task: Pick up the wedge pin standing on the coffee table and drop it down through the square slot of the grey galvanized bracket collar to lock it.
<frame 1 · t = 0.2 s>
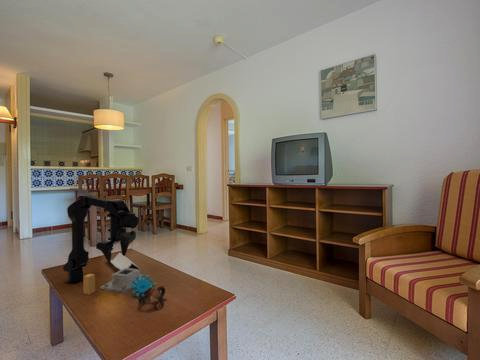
hand: (116, 258, 116), 14 cm above the table, fingers open, 9 cm apart
bracket collar: (126, 282, 122), on the table
z bracket: (121, 266, 145), on the table
gear: (144, 294, 110), on the table
dark brown loop tangle: (153, 305, 101), on the table
wedge pin: (89, 292, 112), on the table
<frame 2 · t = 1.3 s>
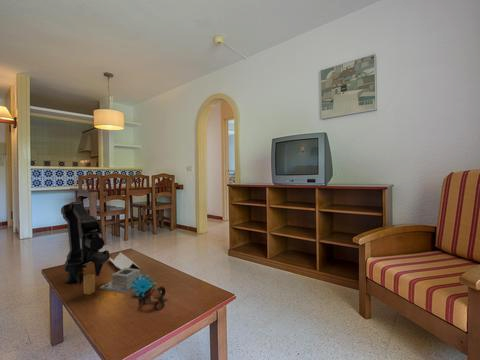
hand: (89, 279, 112), 6 cm above the table, fingers open, 9 cm apart
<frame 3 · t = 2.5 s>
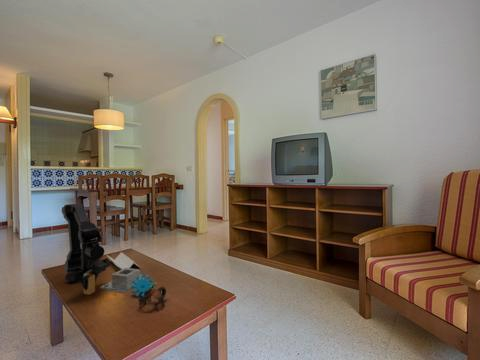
hand: (89, 288, 112), 2 cm above the table, fingers closed on wedge pin, 3 cm apart
wedge pin: (89, 292, 112), on the table, touching gripper
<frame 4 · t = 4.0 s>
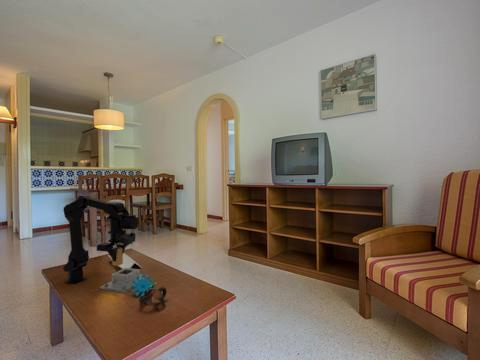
hand: (117, 260, 119), 12 cm above the table, fingers closed on wedge pin, 3 cm apart
wedge pin: (117, 264, 118), point 10 cm above the table, touching gripper
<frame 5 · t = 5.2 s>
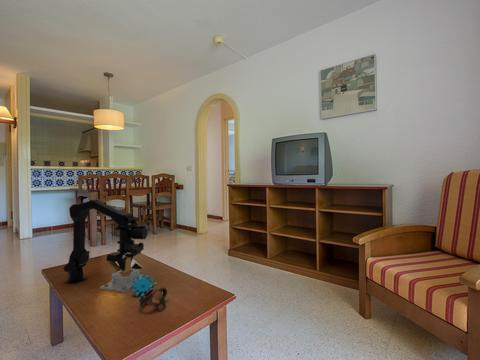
hand: (125, 269, 121), 7 cm above the table, fingers closed on wedge pin, 3 cm apart
wedge pin: (126, 273, 121), point 5 cm above the table, touching gripper
when the fingers open (6 cm above the table, at t = 5.9 s): wedge pin drops 3 cm, resting on bracket collar.
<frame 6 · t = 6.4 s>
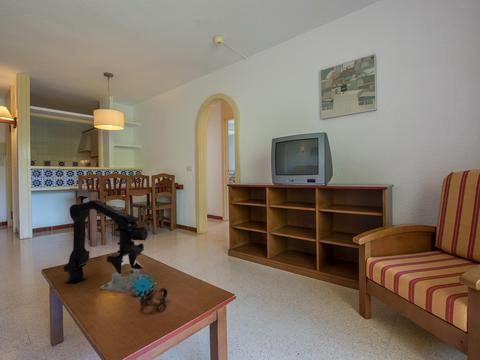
hand: (125, 270, 121), 6 cm above the table, fingers open, 8 cm apart
wedge pin: (126, 280, 122), point 1 cm above the table, touching bracket collar
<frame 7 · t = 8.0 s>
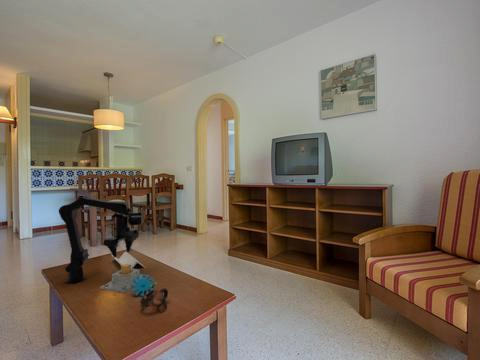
hand: (121, 254, 129), 12 cm above the table, fingers open, 9 cm apart
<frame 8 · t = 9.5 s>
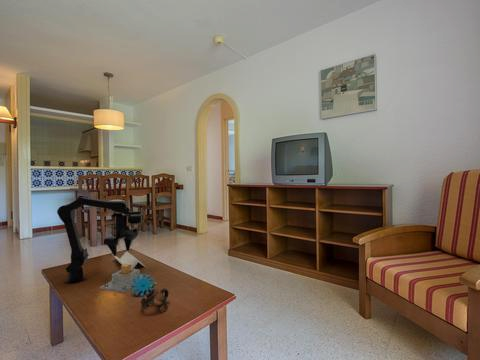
hand: (121, 253, 131), 12 cm above the table, fingers open, 9 cm apart
at the end: wedge pin 0.0 cm off-centre on the bracket collar, point 1.0 cm above the bracket collar's base; wedge pin tilted 0°; the gripper is holding nothing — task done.
